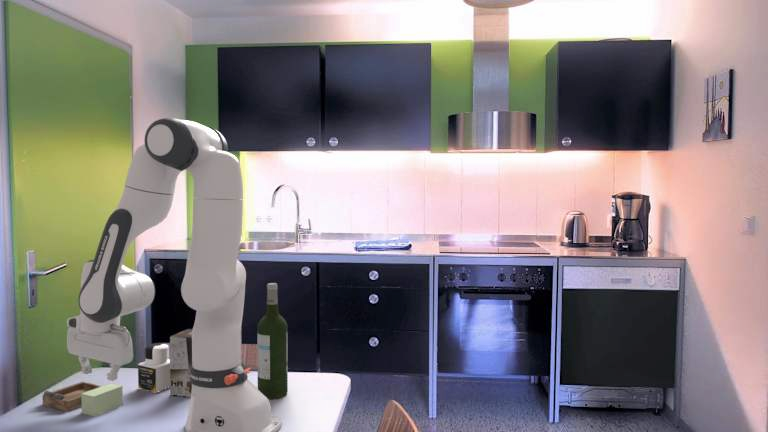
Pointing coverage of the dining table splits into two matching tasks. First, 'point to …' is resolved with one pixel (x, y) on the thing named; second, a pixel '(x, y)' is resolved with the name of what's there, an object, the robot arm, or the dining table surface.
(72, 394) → the wooden footed tray
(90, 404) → the pale green box
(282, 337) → the wine bottle
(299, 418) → the dining table surface
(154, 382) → the medicine bottle
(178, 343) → the coffee box
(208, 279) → the robot arm
